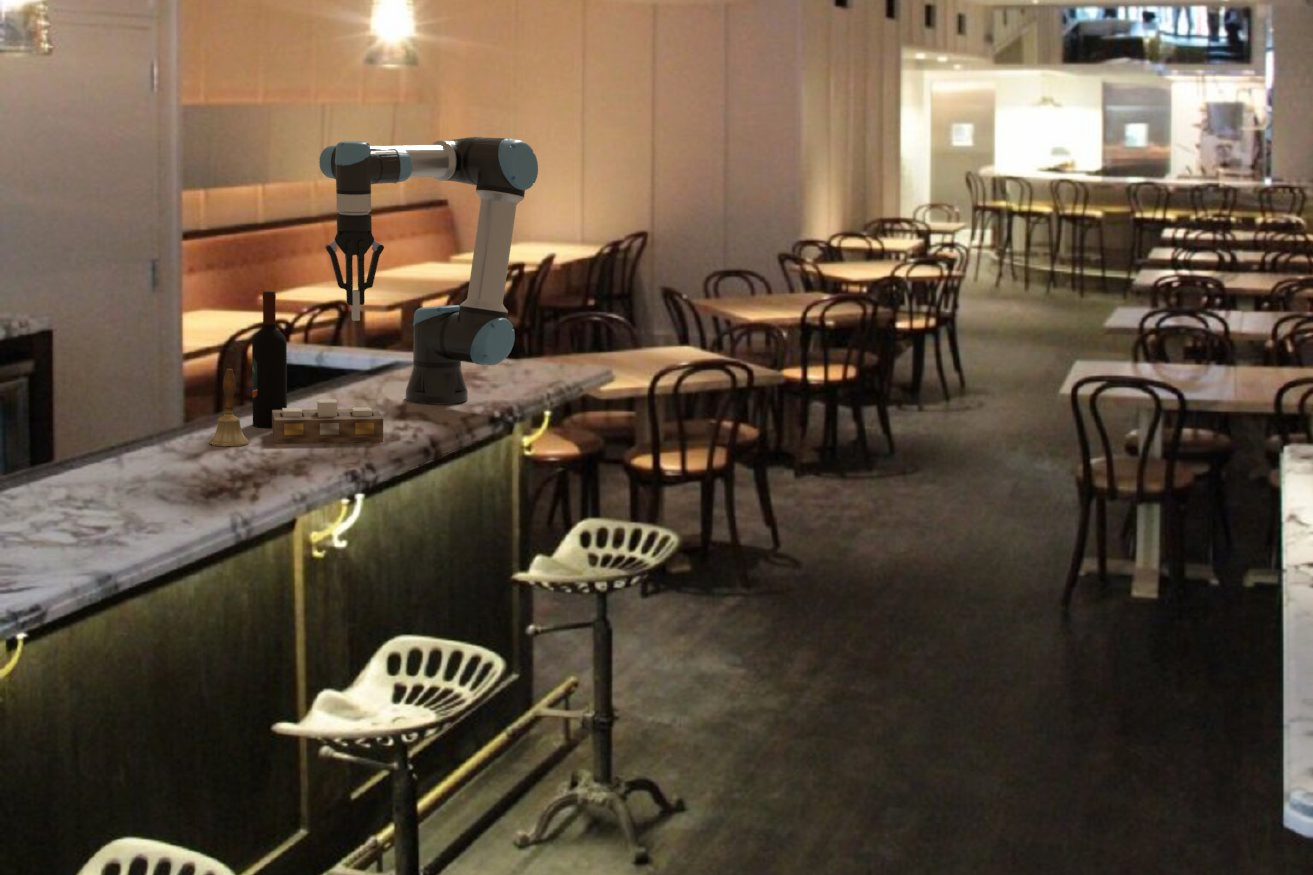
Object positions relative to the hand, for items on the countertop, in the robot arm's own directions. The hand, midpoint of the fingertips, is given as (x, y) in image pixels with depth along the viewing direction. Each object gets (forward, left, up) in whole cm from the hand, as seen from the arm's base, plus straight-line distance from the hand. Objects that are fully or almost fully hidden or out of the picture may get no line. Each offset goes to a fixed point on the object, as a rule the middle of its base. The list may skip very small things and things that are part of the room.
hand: (355, 319), depth 400 cm
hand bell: (+28, +14, -25) cm, 40 cm away
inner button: (-1, +9, -23) cm, 25 cm away
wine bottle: (+19, -5, -25) cm, 31 cm away
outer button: (+14, +9, -23) cm, 29 cm away
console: (+7, +9, -25) cm, 27 cm away
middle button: (+7, +9, -22) cm, 24 cm away
